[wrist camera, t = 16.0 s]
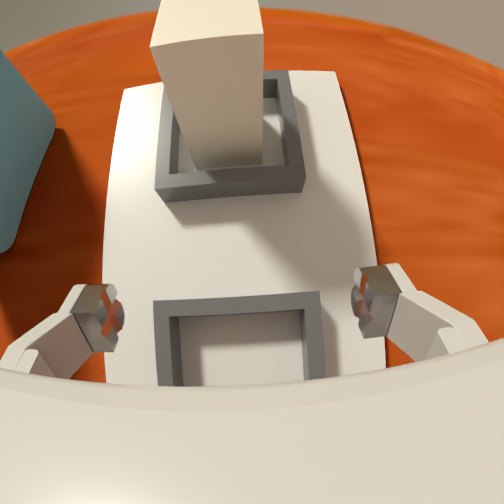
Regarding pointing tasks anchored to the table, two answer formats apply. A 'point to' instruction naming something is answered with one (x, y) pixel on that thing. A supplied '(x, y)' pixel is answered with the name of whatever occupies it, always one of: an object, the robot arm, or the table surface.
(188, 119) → the plug block
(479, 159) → the table surface
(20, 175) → the data package
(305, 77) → the dock
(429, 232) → the table surface
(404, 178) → the table surface
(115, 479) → the robot arm
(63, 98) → the table surface
